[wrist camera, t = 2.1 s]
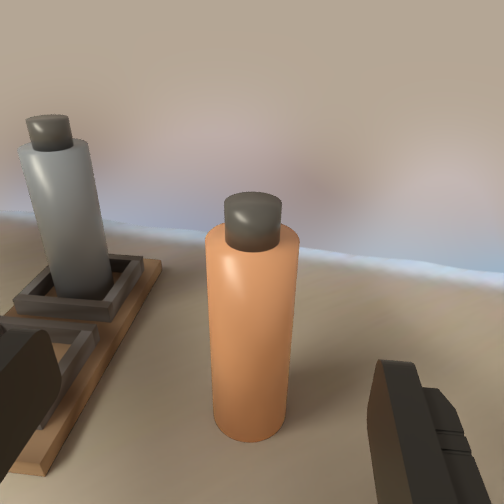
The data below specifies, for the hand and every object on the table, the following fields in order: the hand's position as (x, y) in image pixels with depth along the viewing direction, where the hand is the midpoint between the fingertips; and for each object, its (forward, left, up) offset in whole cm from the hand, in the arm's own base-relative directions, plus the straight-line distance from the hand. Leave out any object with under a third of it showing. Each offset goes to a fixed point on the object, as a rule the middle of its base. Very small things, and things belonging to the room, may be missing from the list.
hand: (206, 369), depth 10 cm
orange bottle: (-5, +10, -15) cm, 19 cm away
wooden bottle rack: (-22, +7, -15) cm, 28 cm away
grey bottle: (-24, +11, -14) cm, 30 cm away
